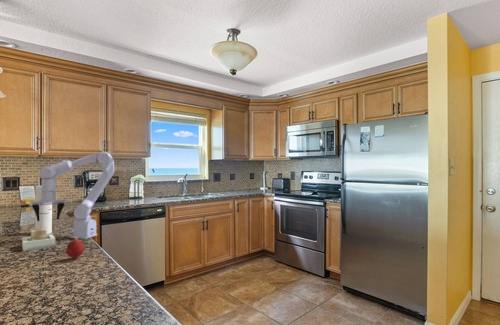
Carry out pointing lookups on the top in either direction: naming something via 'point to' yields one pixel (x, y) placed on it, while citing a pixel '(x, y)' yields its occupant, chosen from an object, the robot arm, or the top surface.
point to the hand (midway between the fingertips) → (48, 219)
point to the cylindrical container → (43, 214)
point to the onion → (75, 248)
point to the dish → (38, 243)
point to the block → (38, 234)
